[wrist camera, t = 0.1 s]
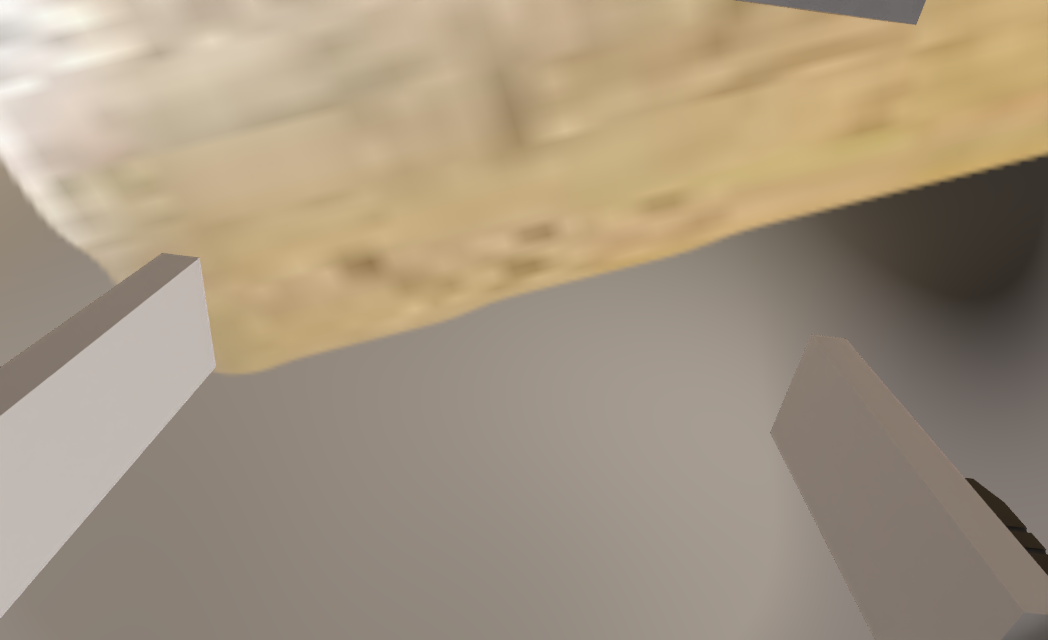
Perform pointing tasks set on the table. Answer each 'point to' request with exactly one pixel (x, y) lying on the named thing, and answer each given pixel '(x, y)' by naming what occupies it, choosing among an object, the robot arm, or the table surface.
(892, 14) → the socket plate
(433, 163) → the table surface
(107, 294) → the robot arm
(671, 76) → the table surface
